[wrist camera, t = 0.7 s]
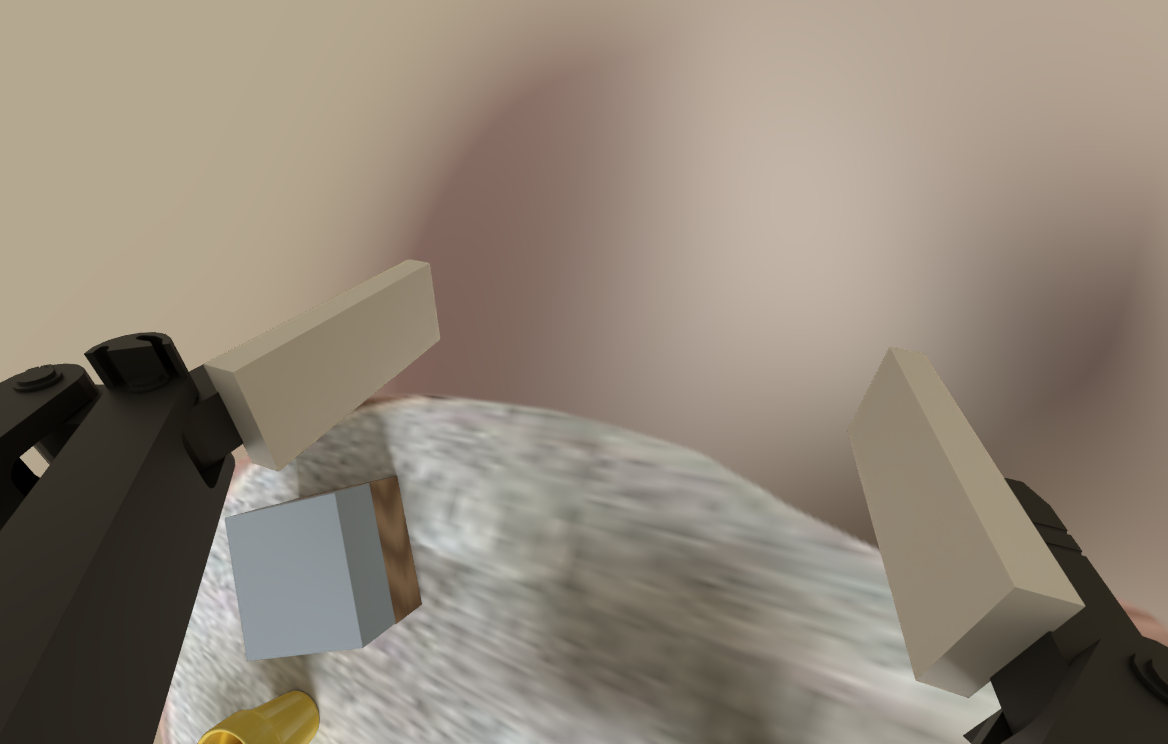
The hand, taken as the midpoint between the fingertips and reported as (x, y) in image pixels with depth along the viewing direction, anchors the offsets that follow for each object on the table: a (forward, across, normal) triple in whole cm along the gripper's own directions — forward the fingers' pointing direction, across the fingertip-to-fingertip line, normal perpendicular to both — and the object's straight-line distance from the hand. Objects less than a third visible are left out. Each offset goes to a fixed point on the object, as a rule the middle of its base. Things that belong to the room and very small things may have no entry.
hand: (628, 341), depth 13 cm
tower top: (+10, +34, +44) cm, 57 cm away
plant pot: (+1, +37, +67) cm, 77 cm away
